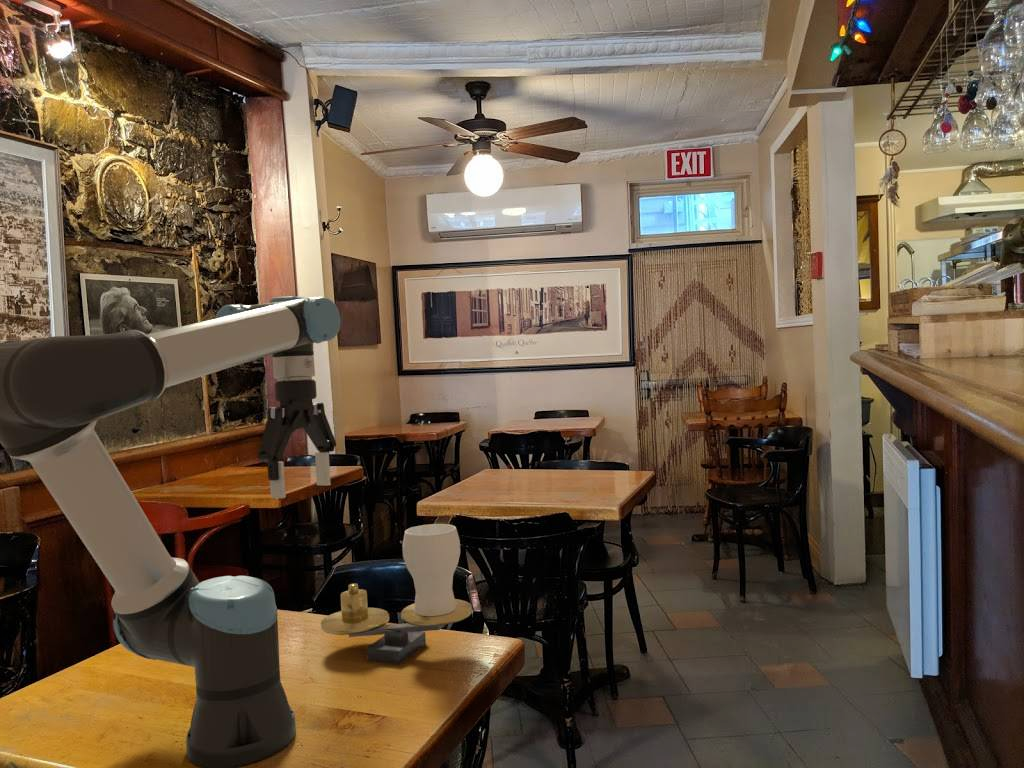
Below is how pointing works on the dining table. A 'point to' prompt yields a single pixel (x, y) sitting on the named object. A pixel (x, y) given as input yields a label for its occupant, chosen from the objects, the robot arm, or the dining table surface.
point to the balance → (372, 621)
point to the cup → (432, 566)
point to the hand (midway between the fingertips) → (302, 491)
